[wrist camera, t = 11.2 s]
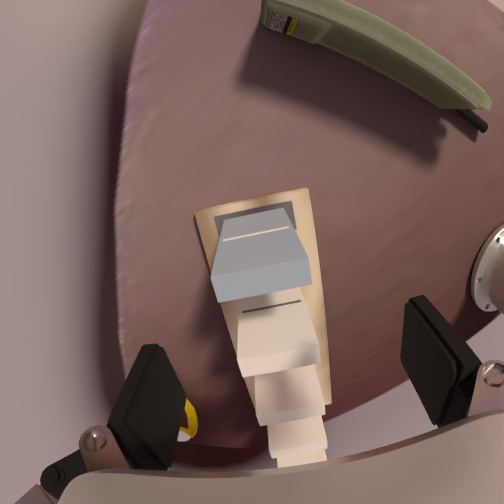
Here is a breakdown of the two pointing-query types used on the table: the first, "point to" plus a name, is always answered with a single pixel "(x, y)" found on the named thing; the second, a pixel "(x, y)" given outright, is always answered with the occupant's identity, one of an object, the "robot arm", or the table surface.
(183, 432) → the yellow wristwatch
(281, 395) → the domino
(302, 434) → the domino
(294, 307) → the domino
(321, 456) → the domino
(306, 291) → the board
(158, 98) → the table surface
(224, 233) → the domino
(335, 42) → the handheld radio
